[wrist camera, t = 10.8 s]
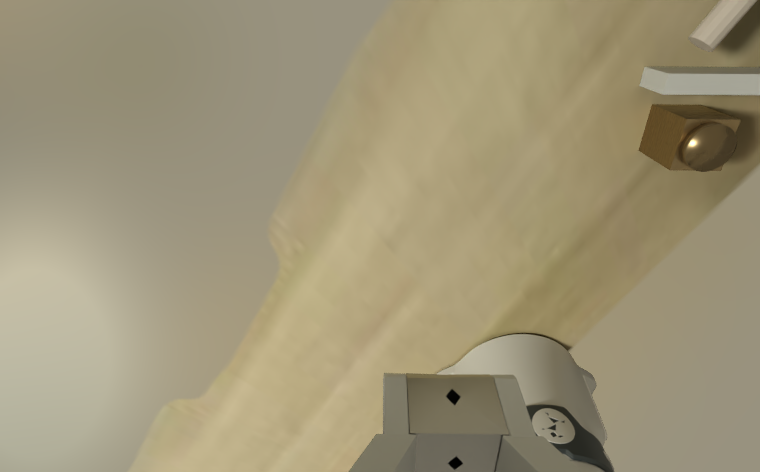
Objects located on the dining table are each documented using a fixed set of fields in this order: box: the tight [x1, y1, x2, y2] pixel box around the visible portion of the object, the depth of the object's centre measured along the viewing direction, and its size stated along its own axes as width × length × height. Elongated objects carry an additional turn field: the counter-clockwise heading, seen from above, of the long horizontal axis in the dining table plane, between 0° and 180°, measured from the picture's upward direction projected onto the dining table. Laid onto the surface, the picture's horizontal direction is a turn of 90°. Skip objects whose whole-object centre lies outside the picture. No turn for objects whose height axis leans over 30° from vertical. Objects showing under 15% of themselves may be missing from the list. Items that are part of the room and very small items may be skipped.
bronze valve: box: [639, 104, 741, 172], centre depth 36 cm, size 4×4×6 cm
